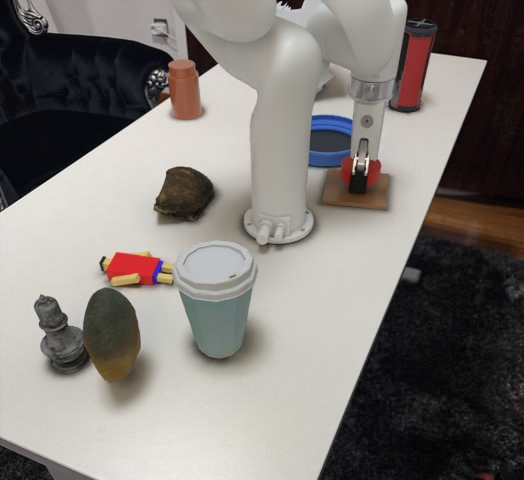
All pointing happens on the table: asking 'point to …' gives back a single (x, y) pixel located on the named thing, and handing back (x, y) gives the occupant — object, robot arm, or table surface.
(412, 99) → the speaker
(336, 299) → the table surface
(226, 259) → the disposable coffee cup
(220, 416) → the table surface
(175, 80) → the jar
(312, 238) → the table surface
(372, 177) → the lid
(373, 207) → the coaster
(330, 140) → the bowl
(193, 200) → the seashell
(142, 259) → the toy figure
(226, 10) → the robot arm
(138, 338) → the mango
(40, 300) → the grey chess piece
